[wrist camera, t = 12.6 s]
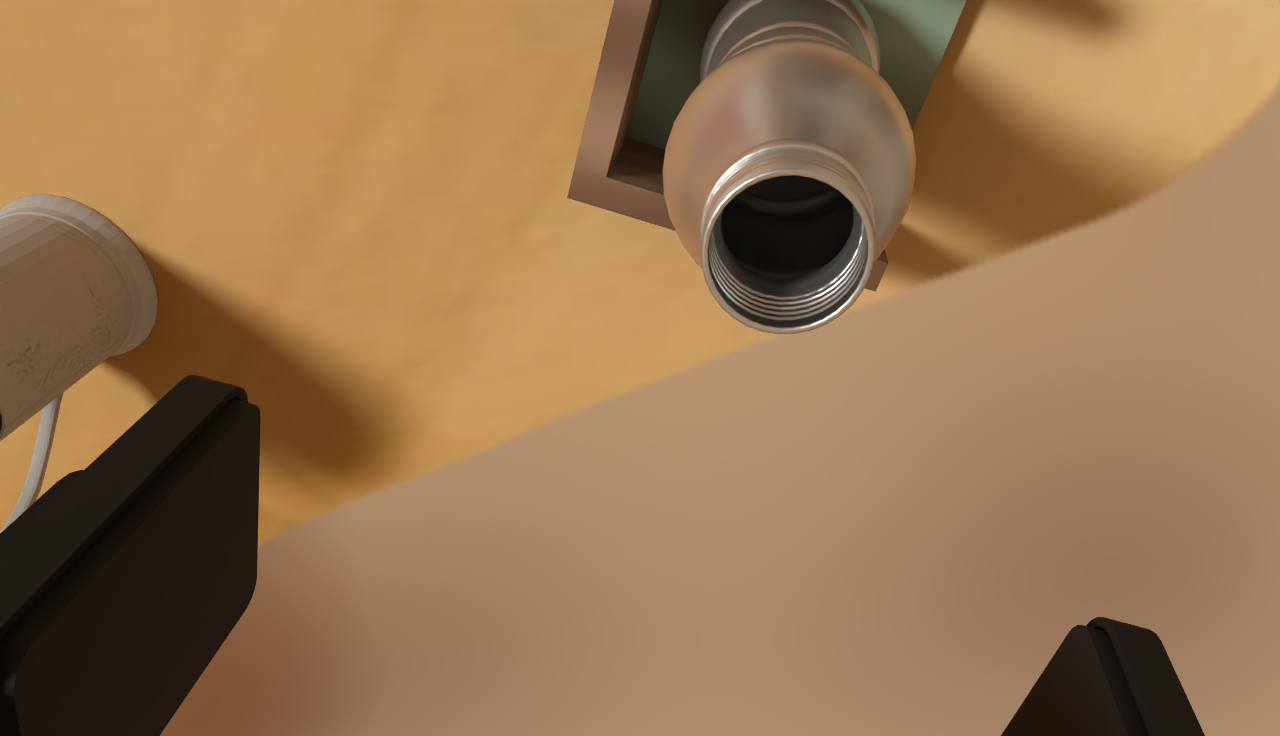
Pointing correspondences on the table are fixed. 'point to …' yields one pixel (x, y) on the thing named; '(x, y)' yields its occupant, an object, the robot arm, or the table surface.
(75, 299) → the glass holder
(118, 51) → the table surface
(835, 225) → the plastic bottle
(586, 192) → the u rest
